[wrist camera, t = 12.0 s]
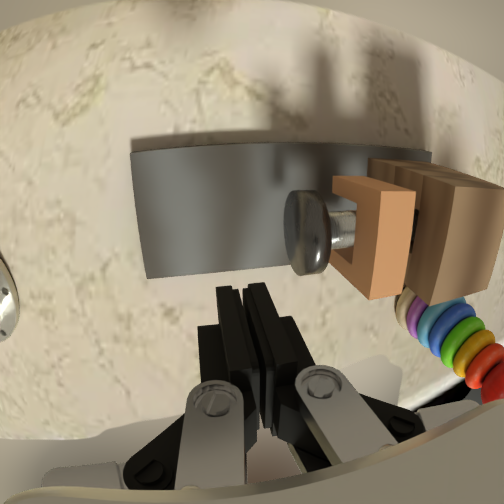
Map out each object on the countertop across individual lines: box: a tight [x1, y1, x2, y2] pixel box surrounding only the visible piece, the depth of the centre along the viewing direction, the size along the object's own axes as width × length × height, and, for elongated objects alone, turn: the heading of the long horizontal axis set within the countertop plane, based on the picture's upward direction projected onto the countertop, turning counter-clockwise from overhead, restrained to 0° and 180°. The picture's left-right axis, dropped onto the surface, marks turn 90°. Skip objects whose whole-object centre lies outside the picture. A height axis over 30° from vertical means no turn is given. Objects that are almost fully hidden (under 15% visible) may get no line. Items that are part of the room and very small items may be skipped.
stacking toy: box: [396, 286, 504, 404], centre depth 24 cm, size 8×8×19 cm
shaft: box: [283, 190, 419, 276], centre depth 20 cm, size 16×5×5 cm, turn 91°
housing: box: [130, 142, 504, 306], centre depth 20 cm, size 26×10×11 cm, turn 91°
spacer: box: [329, 176, 416, 300], centre depth 19 cm, size 2×6×6 cm, turn 1°
